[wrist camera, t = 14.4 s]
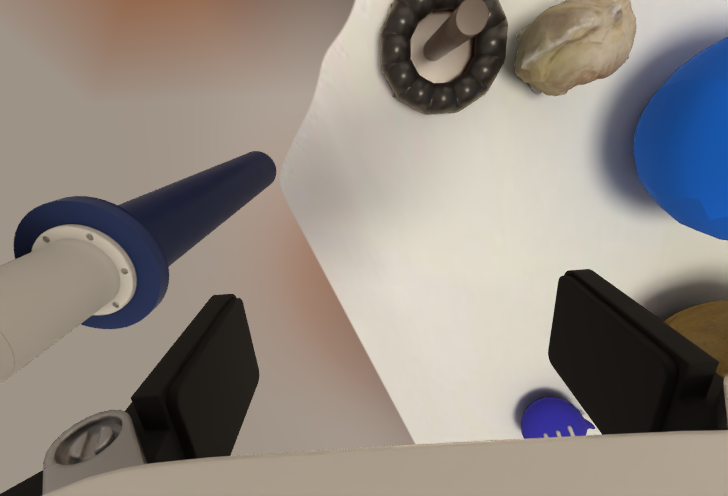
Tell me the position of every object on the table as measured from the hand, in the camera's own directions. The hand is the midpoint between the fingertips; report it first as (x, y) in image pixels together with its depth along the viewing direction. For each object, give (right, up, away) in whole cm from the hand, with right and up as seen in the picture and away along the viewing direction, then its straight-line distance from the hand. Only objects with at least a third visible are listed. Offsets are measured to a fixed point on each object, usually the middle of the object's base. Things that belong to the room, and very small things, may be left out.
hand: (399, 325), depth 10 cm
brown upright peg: (+6, +22, +25) cm, 33 cm away
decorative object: (+27, -22, +43) cm, 55 cm away
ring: (+6, +21, +22) cm, 31 cm away
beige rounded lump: (+18, +22, +25) cm, 37 cm away
